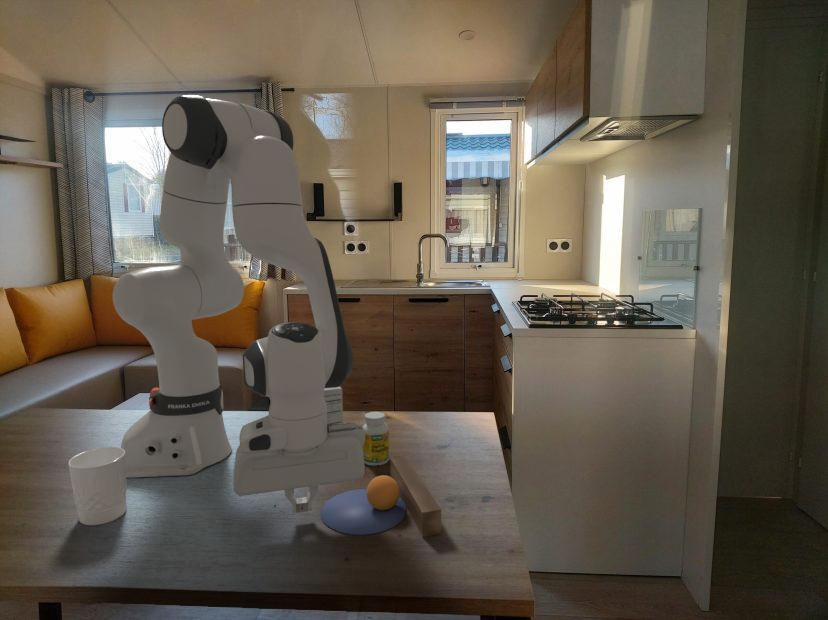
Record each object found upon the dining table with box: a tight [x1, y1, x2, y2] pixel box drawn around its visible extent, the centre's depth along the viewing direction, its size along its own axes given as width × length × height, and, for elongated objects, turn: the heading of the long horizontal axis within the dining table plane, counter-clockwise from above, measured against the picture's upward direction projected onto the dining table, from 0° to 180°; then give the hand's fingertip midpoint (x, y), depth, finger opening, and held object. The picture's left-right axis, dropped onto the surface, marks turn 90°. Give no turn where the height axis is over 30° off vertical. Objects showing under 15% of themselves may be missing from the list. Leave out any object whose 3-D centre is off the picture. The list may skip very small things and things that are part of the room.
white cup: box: [67, 446, 128, 526], centre depth 87 cm, size 8×8×10 cm
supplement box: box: [324, 386, 344, 425], centre depth 116 cm, size 7×7×13 cm
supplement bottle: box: [361, 411, 390, 467], centre depth 106 cm, size 5×5×10 cm
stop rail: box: [389, 455, 442, 538], centre depth 90 cm, size 3×20×4 cm, turn 17°
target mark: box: [320, 488, 407, 536], centre depth 88 cm, size 14×14×1 cm
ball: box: [366, 474, 400, 510], centre depth 89 cm, size 6×6×6 cm
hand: (301, 510), depth 85 cm, fingers closed
